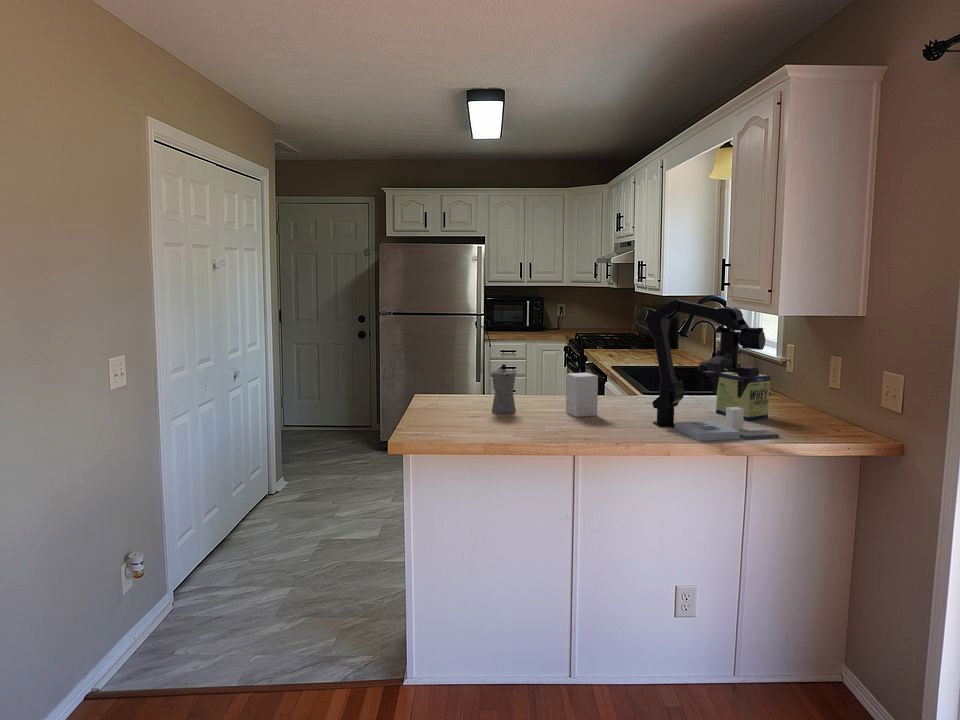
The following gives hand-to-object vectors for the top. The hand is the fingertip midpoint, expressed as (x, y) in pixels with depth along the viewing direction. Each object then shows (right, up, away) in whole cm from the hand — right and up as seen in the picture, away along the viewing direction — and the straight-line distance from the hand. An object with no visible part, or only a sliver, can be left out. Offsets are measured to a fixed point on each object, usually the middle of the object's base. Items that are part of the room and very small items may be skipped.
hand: (726, 395), depth 222 cm
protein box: (+16, -9, +30) cm, 35 cm away
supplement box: (-42, -9, +33) cm, 54 cm away
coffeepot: (-71, -8, +40) cm, 82 cm away
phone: (+9, -13, -1) cm, 16 cm away
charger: (+6, -12, +9) cm, 16 cm away
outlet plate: (-6, -13, +2) cm, 14 cm away
